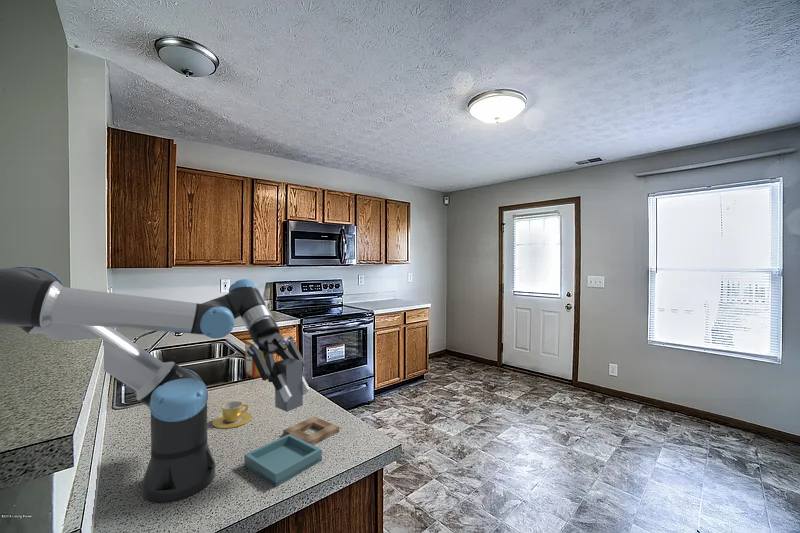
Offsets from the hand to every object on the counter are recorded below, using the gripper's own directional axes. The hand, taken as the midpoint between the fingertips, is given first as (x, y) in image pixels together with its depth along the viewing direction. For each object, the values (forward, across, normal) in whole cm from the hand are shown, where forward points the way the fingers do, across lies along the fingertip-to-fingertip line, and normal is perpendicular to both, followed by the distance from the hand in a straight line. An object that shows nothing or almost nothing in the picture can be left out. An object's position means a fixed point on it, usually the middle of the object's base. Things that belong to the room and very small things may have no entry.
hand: (297, 395), depth 93 cm
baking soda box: (-40, -34, -67) cm, 85 cm away
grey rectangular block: (0, 0, -5) cm, 5 cm away
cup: (-14, -3, -41) cm, 44 cm away
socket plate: (+5, -14, -21) cm, 26 cm away
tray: (+10, +2, -16) cm, 19 cm away
